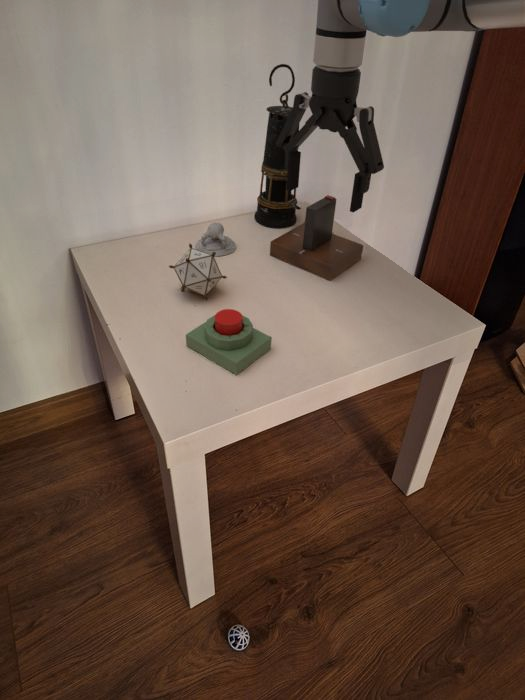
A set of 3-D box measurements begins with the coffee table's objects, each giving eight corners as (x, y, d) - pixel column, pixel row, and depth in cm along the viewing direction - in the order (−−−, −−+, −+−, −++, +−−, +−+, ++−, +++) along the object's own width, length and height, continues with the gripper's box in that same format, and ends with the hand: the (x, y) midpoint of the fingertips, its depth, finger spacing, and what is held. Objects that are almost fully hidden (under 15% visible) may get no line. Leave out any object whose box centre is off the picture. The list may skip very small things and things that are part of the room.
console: (361, 258, 103) (364, 244, 101) (330, 281, 96) (332, 266, 94) (302, 235, 109) (304, 221, 107) (269, 255, 102) (270, 240, 100)
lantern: (301, 226, 113) (316, 70, 94) (259, 229, 111) (266, 71, 92) (290, 209, 119) (301, 59, 101) (250, 211, 118) (254, 60, 99)
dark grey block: (311, 251, 98) (315, 209, 93) (302, 247, 99) (306, 206, 94) (331, 238, 102) (336, 197, 97) (322, 235, 103) (327, 194, 98)
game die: (197, 316, 92) (172, 293, 83) (178, 279, 96) (152, 254, 86) (240, 288, 92) (221, 263, 82) (220, 253, 95) (198, 224, 86)
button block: (271, 348, 80) (272, 327, 78) (236, 375, 75) (236, 353, 73) (222, 322, 85) (221, 301, 82) (186, 346, 80) (184, 324, 77)
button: (247, 327, 78) (248, 316, 77) (229, 340, 76) (229, 328, 74) (227, 316, 80) (227, 305, 79) (209, 328, 77) (209, 317, 76)
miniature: (239, 239, 107) (239, 217, 104) (232, 258, 101) (232, 235, 98) (200, 235, 108) (199, 213, 105) (191, 254, 102) (189, 230, 99)
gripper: (422, 76, 78) (395, 212, 91) (287, 52, 90) (280, 175, 103) (398, 84, 73) (373, 226, 87) (259, 57, 85) (255, 186, 99)
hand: (322, 199), depth 95 cm, fingers open, 13 cm apart
